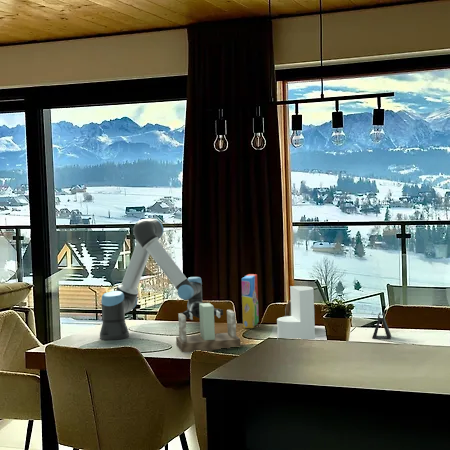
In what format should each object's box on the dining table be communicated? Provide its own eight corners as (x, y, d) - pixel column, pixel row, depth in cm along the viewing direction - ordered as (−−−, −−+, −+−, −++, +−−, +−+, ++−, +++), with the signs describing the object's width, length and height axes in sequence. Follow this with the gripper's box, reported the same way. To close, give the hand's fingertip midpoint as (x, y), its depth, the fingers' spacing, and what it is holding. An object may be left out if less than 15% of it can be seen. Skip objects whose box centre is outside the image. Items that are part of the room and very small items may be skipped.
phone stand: (372, 338, 365) (371, 314, 365) (372, 336, 371) (372, 312, 371) (390, 339, 363) (390, 314, 362) (391, 336, 369) (390, 312, 368)
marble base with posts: (182, 352, 351) (180, 318, 350) (176, 344, 368) (175, 312, 367) (240, 347, 356) (239, 313, 356) (232, 340, 374) (231, 308, 373)
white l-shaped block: (309, 343, 360) (307, 285, 358) (319, 350, 342) (317, 289, 341) (274, 345, 357) (272, 287, 356) (282, 353, 340) (280, 291, 339)
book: (204, 340, 356) (203, 306, 355) (200, 336, 367) (199, 303, 367) (214, 339, 357) (213, 306, 357) (210, 335, 368) (209, 302, 368)
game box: (252, 328, 403) (251, 278, 402) (242, 328, 404) (241, 278, 403) (258, 321, 424) (257, 273, 422) (249, 321, 425) (247, 273, 424)
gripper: (222, 315, 389) (231, 321, 368) (174, 318, 384) (180, 325, 363) (222, 300, 388) (230, 306, 367) (174, 304, 383) (179, 310, 363)
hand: (205, 316), depth 365 cm, fingers open, 13 cm apart
